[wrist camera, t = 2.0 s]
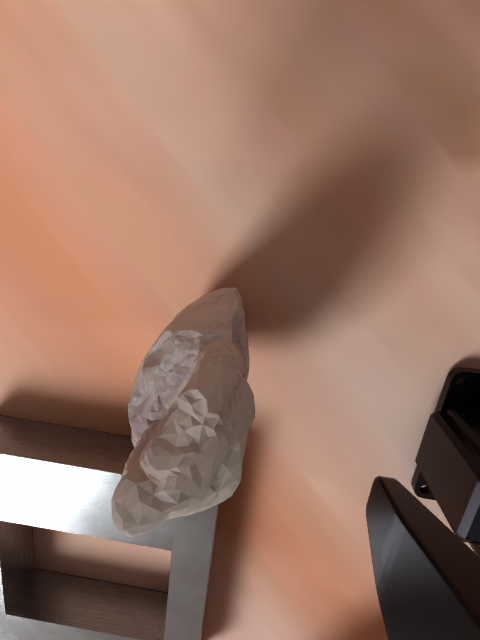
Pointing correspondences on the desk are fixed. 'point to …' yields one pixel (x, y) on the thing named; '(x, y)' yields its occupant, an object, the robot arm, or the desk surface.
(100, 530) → the socket block
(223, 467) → the pale grey rock
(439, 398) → the robot arm
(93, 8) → the desk surface
